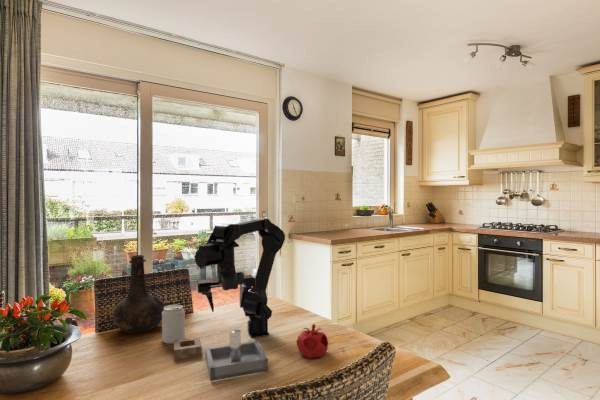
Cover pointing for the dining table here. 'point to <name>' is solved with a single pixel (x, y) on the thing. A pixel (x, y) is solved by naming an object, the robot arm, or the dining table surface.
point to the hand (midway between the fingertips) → (227, 309)
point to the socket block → (187, 348)
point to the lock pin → (235, 346)
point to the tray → (249, 364)
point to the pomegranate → (312, 343)
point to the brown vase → (138, 303)
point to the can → (173, 323)
